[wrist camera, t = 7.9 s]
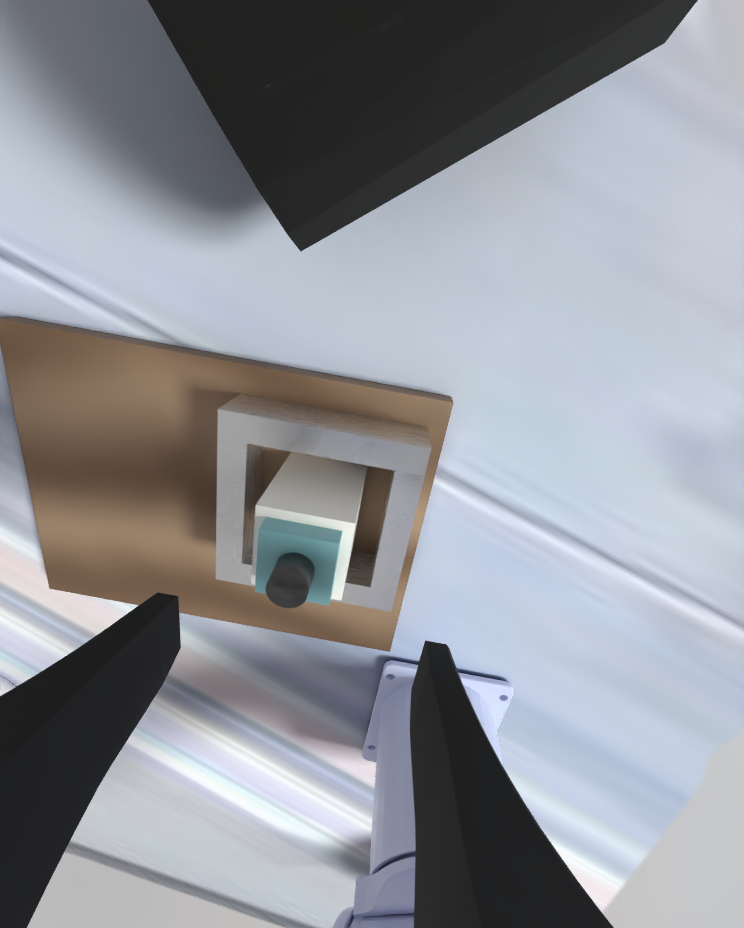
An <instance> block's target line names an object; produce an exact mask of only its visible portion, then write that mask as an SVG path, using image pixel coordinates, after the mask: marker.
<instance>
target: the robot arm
mask: <svg viewBox="0 0 744 928" xmlns="http://www.w3.org/2000/svg"><path fill="white" fill-rule="evenodd" d="M180 648H181V645H180V622H179V599H178V596H175V595H170V594H164V593H159V592H157V593H156V594H154V595H153V596H151V597H150V598H149V599H147V600H146V601H144V602H143V603H142V604H140V605H139V606H137V607H136V608H135V609H133V610H132V611H131V612H129V613H128V614H126V615H125V616H124V617H122V618H121V619H119V620H118V621H117V622H115V623H114V624H112V625H111V626H110V627H108V628H107V629H105V630H104V631H102V632H101V633H100V634H98V635H97V636H95V637H94V638H92V639H91V640H89V641H88V642H86V643H85V644H84V645H82V646H81V647H79V648H78V649H76V650H75V651H73V652H72V653H70V654H68V655H67V656H65V657H64V658H62V659H61V660H59V661H58V662H56V663H54V664H53V665H51V666H50V667H48V668H47V669H45V670H44V671H42V672H40V673H39V674H37V675H35V676H34V677H32V678H30V679H29V680H27V681H25V682H24V683H22V684H20V685H19V686H17V687H15V688H13V689H12V690H10V691H8V692H6V693H5V694H3V695H1V696H0V928H27V926H28V924H29V922H30V920H31V918H32V916H33V914H34V912H35V909H36V907H37V905H38V903H39V901H40V899H41V897H42V895H43V893H44V891H45V889H46V887H47V885H48V883H49V881H50V879H51V877H52V875H53V873H54V871H55V869H56V867H57V865H58V863H59V861H60V859H61V857H62V855H63V853H64V851H65V849H66V847H67V845H68V843H69V841H70V840H71V838H72V836H73V834H74V832H75V830H76V828H77V826H78V824H79V822H80V820H81V818H82V817H83V815H84V813H85V811H86V809H87V807H88V805H89V803H90V801H91V800H92V798H93V796H94V794H95V792H96V790H97V788H98V786H99V785H100V783H101V781H102V780H103V778H104V776H105V775H106V773H107V771H108V770H109V768H110V766H111V765H112V763H113V761H114V760H115V758H116V757H117V755H118V754H119V752H120V751H121V749H122V747H123V746H124V744H125V743H126V741H127V740H128V738H129V736H130V735H131V733H132V732H133V730H134V729H135V727H136V725H137V724H138V722H139V721H140V719H141V718H142V716H143V715H144V713H145V711H146V710H147V708H148V707H149V705H150V703H151V702H152V700H153V699H154V697H155V695H156V694H157V692H158V691H159V689H160V687H161V686H162V684H163V682H164V680H165V678H166V677H167V675H168V673H169V671H170V669H171V667H172V665H173V662H174V660H175V658H176V656H177V654H178V652H179V650H180ZM513 694H514V688H513V685H512V684H511V683H509V682H506V681H501V680H496V679H490V678H485V677H479V676H474V675H469V674H463V673H458V671H457V668H456V666H455V663H454V660H453V658H452V655H451V652H450V649H449V647H448V646H447V645H446V644H441V643H435V642H430V641H425V644H424V647H423V651H422V654H421V657H420V661H419V664H418V665H415V664H409V663H404V662H399V661H392V660H391V661H387V662H386V663H385V664H384V668H383V672H382V676H381V680H380V684H379V688H378V692H377V696H376V699H375V703H374V707H373V711H372V715H371V719H370V723H369V727H368V731H367V735H366V739H365V743H364V747H363V752H362V756H363V758H364V759H366V760H368V761H374V762H376V774H375V790H374V805H373V821H372V836H371V851H370V875H369V876H366V877H360V878H357V879H356V889H355V900H354V907H348V908H346V909H345V910H343V911H342V912H341V914H340V915H339V916H338V918H337V919H336V922H335V924H334V926H333V928H613V926H612V925H611V924H610V923H609V921H608V920H607V919H606V918H605V916H604V915H603V914H602V912H601V911H600V910H599V909H598V907H597V906H596V905H595V903H594V902H593V901H592V899H591V898H590V897H589V895H588V894H587V893H586V891H585V890H584V889H583V887H582V886H581V885H580V883H579V882H578V881H577V879H576V878H575V877H574V875H573V874H572V872H571V871H570V870H569V868H568V867H567V865H566V864H565V862H564V861H563V860H562V858H561V857H560V855H559V854H558V852H557V851H556V850H555V848H554V847H553V845H552V844H551V842H550V841H549V840H548V838H547V837H546V835H545V834H544V832H543V831H542V829H541V828H540V826H539V825H538V823H537V822H536V820H535V819H534V817H533V816H532V814H531V812H530V811H529V809H528V808H527V806H526V805H525V803H524V801H523V800H522V798H521V796H520V795H519V793H518V791H517V790H516V788H515V786H514V785H513V783H512V781H511V780H510V778H509V776H508V775H507V773H506V771H505V769H504V767H503V762H502V757H501V752H500V747H499V742H498V737H497V732H496V731H497V729H498V727H499V725H500V723H501V720H502V718H503V716H504V714H505V712H506V709H507V707H508V705H509V703H510V701H511V698H512V696H513Z"/></svg>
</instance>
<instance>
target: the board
mask: <svg viewBox="0 0 744 928" xmlns="http://www.w3.org/2000/svg"><path fill="white" fill-rule="evenodd" d="M0 344H1V349H2V354H3V359H4V364H5V369H6V374H7V379H8V384H9V389H10V394H11V399H12V404H13V409H14V414H15V419H16V424H17V429H18V434H19V439H20V444H21V449H22V454H23V459H24V464H25V469H26V474H27V479H28V484H29V489H30V494H31V499H32V504H33V509H34V514H35V519H36V524H37V529H38V534H39V539H40V544H41V549H42V554H43V559H44V564H45V569H46V574H47V579H48V584H49V588H50V589H55V590H61V591H66V592H71V593H77V594H82V595H87V596H93V597H98V598H104V599H109V600H114V601H120V602H125V603H130V604H136V605H140V604H142V603H143V602H144V601H146V600H147V599H149V598H150V597H151V596H153V595H154V594H156V593H157V592H159V593H164V594H170V595H175V596H178V599H179V613H184V614H190V615H195V616H200V617H206V618H211V619H217V620H222V621H227V622H233V623H238V624H243V625H249V626H254V627H260V628H265V629H270V630H276V631H281V632H286V633H292V634H297V635H303V636H308V637H313V638H319V639H324V640H330V641H335V642H340V643H346V644H351V645H356V646H362V647H367V648H373V649H378V650H383V651H389V652H390V649H391V645H392V641H393V637H394V633H395V629H396V625H397V621H398V617H399V613H400V609H401V606H402V602H403V598H404V594H405V590H406V586H407V582H408V578H409V574H410V570H411V566H412V563H413V559H414V555H415V551H416V547H417V543H418V539H419V535H420V531H421V527H422V523H423V520H424V516H425V512H426V508H427V504H428V500H429V496H430V492H431V488H432V484H433V480H434V477H435V473H436V469H437V465H438V461H439V457H440V453H441V449H442V445H443V441H444V437H445V434H446V430H447V426H448V422H449V418H450V414H451V410H452V406H453V400H452V398H451V397H450V396H444V395H439V394H434V393H428V392H423V391H417V390H412V389H406V388H401V387H395V386H390V385H385V384H379V383H374V382H368V381H363V380H357V379H352V378H347V377H341V376H336V375H330V374H325V373H319V372H314V371H309V370H303V369H298V368H292V367H287V366H281V365H276V364H270V363H265V362H260V361H254V360H249V359H243V358H238V357H232V356H227V355H222V354H216V353H211V352H205V351H200V350H194V349H189V348H184V347H178V346H173V345H167V344H162V343H156V342H151V341H146V340H140V339H135V338H129V337H124V336H118V335H113V334H107V333H102V332H97V331H91V330H86V329H80V328H75V327H69V326H64V325H59V324H53V323H48V322H42V321H37V320H31V319H26V318H21V317H5V318H0ZM241 393H243V394H248V395H254V396H259V397H265V398H270V399H276V400H281V401H286V402H292V403H297V404H303V405H308V406H314V407H319V408H324V409H330V410H335V411H341V412H346V413H352V414H357V415H362V416H368V417H373V418H379V419H384V420H390V421H395V422H400V423H406V424H411V425H417V426H422V427H428V429H429V436H430V443H431V452H430V456H429V460H428V464H427V468H426V472H425V477H424V481H423V485H422V489H421V493H420V497H419V501H418V505H417V509H416V513H415V517H414V522H413V526H412V530H411V534H410V538H409V542H408V546H407V550H406V554H405V558H404V562H403V566H402V571H401V575H400V579H399V583H398V587H397V591H396V595H395V599H394V603H393V607H392V611H391V612H390V611H385V610H379V609H374V608H369V607H363V606H358V605H352V604H347V603H342V602H336V601H331V600H330V604H329V606H328V605H322V604H317V603H312V602H306V601H305V602H304V603H303V604H302V605H300V606H299V607H296V608H283V607H280V606H278V605H276V604H274V603H273V602H272V601H271V600H270V599H269V598H268V596H267V594H264V593H258V592H255V586H250V585H245V584H239V583H234V582H228V581H223V580H218V579H216V513H217V432H218V409H219V408H220V407H222V406H223V405H225V404H226V403H228V402H229V401H231V400H232V399H233V398H235V397H236V396H238V395H239V394H241ZM290 453H291V451H286V450H281V449H275V448H270V447H265V453H264V468H263V484H262V495H263V493H264V492H265V490H266V489H267V487H268V486H269V484H270V483H271V481H272V480H273V479H274V477H275V476H276V474H277V473H278V471H279V470H280V468H281V467H282V465H283V464H284V462H285V461H286V459H287V458H288V456H289V455H290ZM294 453H297V452H294ZM300 454H302V453H300ZM305 455H308V454H305ZM310 456H313V455H310ZM316 457H319V456H316ZM321 458H324V457H321ZM327 459H329V458H327ZM332 460H335V459H332ZM337 461H340V460H337ZM343 462H346V461H343ZM348 463H351V462H348ZM353 464H356V463H353ZM359 465H362V464H359ZM364 466H367V465H364ZM391 472H392V470H389V469H384V468H378V467H373V466H367V472H366V477H365V483H364V488H363V494H362V499H361V505H360V510H359V516H358V521H357V527H356V532H355V537H354V542H353V547H352V550H353V551H359V552H364V553H370V554H375V549H376V544H377V539H378V534H379V530H380V525H381V520H382V515H383V510H384V505H385V501H386V496H387V491H388V486H389V481H390V476H391Z"/></svg>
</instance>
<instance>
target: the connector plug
mask: <svg viewBox="0 0 744 928" xmlns="http://www.w3.org/2000/svg"><path fill="white" fill-rule="evenodd" d="M366 472H367V466H364V465H359V464H353V463H348V462H343V461H337V460H332V459H327V458H321V457H316V456H310V455H305V454H300V453H294V452H291V453H290V455H289V456H288V458H287V459H286V461H285V462H284V464H283V465H282V467H281V468H280V470H279V471H278V473H277V474H276V476H275V477H274V479H273V480H272V481H271V483H270V484H269V486H268V487H267V489H266V490H265V492H264V493H263V495H262V496H261V498H260V499H259V501H258V502H257V504H256V508H255V524H254V541H253V558H252V574H251V584H255V592H258V593H264V594H267V596H268V598H269V599H270V600H271V601H272V602H273V603H274V604H276V605H278V606H280V607H283V608H296V607H299V606H300V605H302V604H303V603H304V602H305V601H306V602H312V603H317V604H322V605H328V606H329V604H330V600H331V599H335V600H340V601H341V600H342V596H343V591H344V586H345V581H346V576H347V571H348V566H349V561H350V557H351V552H352V547H353V542H354V537H355V532H356V527H357V521H358V516H359V510H360V505H361V499H362V494H363V488H364V483H365V477H366Z"/></svg>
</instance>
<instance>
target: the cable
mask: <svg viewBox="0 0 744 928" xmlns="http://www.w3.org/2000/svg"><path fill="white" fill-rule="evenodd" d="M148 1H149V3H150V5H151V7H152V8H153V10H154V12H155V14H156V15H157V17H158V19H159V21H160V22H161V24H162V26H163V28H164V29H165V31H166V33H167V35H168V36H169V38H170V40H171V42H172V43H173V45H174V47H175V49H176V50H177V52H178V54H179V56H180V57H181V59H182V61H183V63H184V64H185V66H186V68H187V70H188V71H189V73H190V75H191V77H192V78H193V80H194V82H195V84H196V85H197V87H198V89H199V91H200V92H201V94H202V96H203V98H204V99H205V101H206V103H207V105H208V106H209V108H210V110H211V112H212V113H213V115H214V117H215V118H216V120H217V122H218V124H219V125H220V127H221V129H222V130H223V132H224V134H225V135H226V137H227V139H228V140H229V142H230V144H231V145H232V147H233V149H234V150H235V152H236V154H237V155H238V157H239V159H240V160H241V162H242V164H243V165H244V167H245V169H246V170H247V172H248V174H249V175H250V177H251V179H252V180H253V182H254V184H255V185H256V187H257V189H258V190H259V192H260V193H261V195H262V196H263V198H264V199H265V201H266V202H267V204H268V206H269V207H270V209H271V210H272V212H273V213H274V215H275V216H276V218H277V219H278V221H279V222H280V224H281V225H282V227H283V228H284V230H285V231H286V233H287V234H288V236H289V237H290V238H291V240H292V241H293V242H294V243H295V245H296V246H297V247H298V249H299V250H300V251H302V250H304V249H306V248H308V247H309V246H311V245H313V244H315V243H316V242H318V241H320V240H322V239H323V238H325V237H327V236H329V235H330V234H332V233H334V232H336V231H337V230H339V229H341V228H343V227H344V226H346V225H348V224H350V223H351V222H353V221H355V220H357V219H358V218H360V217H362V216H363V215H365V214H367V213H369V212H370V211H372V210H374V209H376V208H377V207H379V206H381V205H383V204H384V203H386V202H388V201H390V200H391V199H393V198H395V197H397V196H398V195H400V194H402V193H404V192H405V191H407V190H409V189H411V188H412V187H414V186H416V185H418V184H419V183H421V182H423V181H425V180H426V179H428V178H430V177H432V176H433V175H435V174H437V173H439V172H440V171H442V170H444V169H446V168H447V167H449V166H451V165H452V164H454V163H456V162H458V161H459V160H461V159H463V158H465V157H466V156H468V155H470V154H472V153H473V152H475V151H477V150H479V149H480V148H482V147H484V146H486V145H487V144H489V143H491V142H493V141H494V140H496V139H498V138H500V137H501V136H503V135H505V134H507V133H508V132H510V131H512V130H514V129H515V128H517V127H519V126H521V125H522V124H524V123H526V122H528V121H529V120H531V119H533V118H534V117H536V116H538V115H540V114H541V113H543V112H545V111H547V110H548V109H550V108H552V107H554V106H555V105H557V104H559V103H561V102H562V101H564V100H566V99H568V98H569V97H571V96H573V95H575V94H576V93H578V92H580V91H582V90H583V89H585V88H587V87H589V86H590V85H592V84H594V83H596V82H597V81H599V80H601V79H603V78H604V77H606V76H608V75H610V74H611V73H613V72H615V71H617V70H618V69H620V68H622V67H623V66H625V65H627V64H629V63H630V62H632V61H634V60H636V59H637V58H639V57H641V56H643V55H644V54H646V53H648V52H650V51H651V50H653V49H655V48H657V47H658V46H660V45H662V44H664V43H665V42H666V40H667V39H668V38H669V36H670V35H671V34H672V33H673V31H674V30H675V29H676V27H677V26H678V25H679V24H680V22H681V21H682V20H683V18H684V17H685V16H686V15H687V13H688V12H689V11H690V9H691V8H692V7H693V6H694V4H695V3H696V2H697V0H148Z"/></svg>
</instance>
